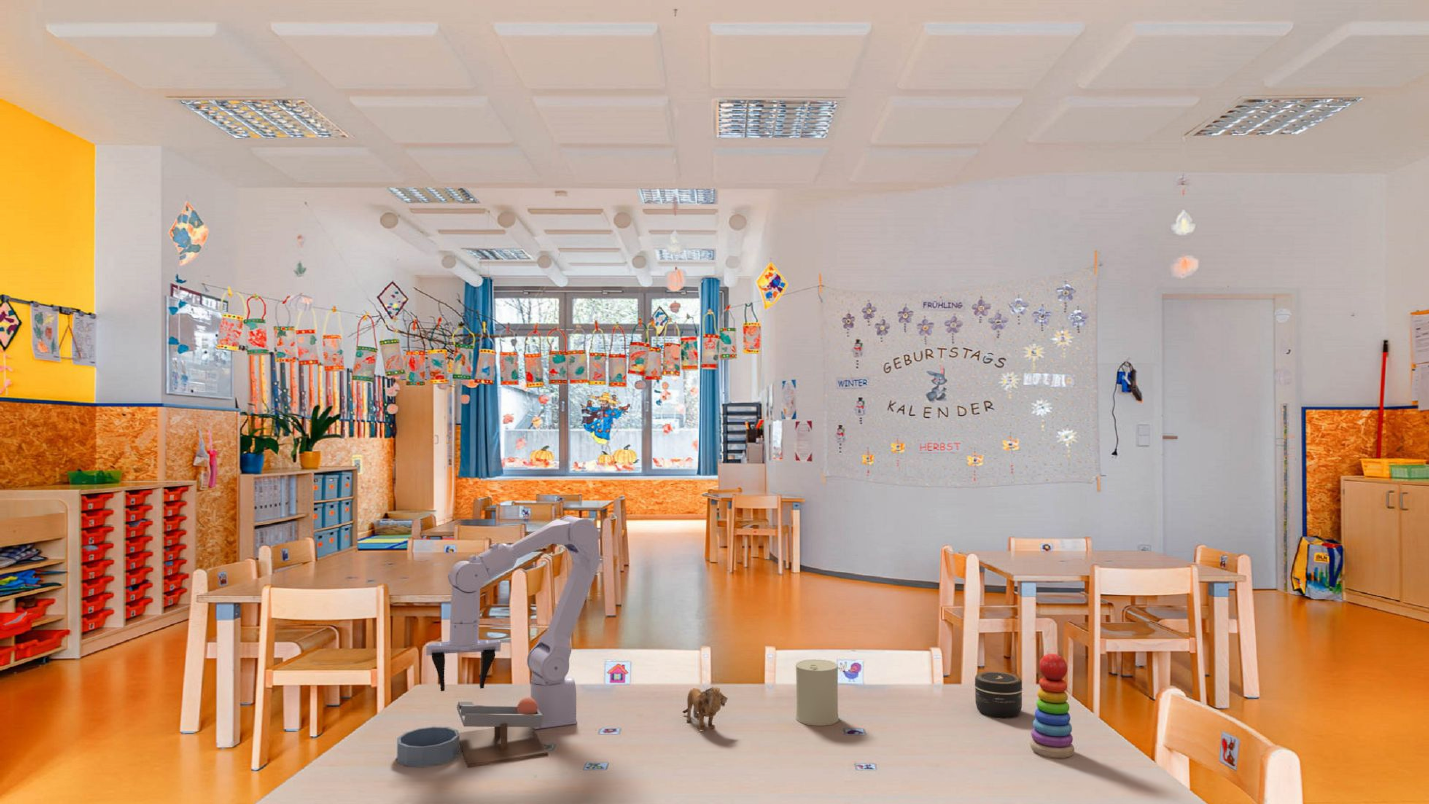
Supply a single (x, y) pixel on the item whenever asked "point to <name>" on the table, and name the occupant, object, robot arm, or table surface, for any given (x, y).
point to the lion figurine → (705, 705)
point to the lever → (496, 716)
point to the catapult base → (500, 745)
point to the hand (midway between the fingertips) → (462, 688)
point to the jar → (998, 694)
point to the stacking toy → (1052, 711)
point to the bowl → (427, 746)
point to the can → (817, 692)
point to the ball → (527, 706)
